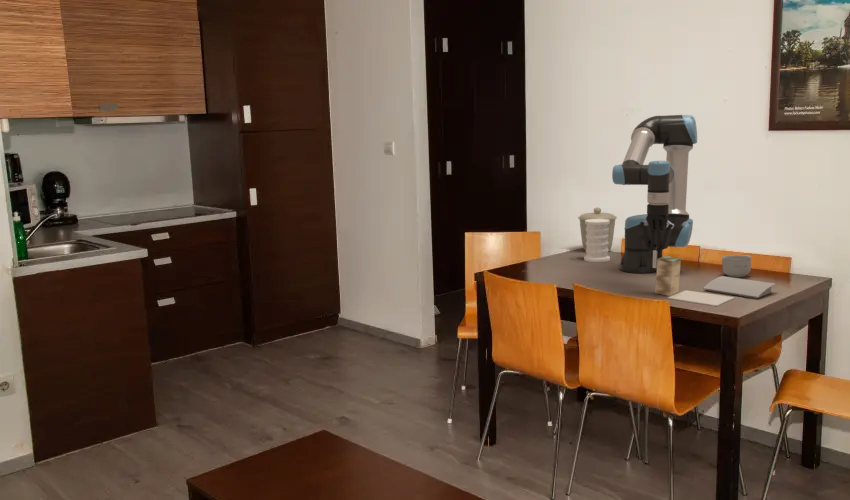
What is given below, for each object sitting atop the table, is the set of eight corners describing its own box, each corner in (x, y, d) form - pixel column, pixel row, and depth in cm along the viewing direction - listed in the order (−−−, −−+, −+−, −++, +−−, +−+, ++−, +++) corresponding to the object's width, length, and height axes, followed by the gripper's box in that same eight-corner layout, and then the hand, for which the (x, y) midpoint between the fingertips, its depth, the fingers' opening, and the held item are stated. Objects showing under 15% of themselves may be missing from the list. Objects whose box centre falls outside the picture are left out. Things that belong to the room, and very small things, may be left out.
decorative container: (579, 258, 344) (579, 219, 341) (601, 256, 348) (601, 218, 345) (592, 263, 334) (592, 223, 330) (615, 260, 337) (615, 221, 334)
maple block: (655, 293, 274) (657, 258, 272) (663, 289, 279) (665, 255, 276) (670, 296, 270) (673, 261, 267) (678, 293, 274) (680, 258, 272)
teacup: (735, 280, 292) (736, 259, 290) (715, 275, 302) (715, 255, 300) (762, 276, 297) (763, 256, 295) (741, 271, 307) (742, 252, 305)
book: (720, 284, 287) (720, 274, 286) (780, 294, 270) (781, 283, 269) (699, 291, 277) (700, 281, 276) (761, 302, 260) (762, 291, 259)
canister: (617, 254, 352) (617, 209, 348) (578, 254, 355) (578, 210, 352) (615, 247, 369) (616, 205, 365) (578, 247, 373) (578, 205, 369)
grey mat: (667, 298, 267) (667, 297, 267) (685, 291, 276) (686, 290, 276) (716, 306, 254) (716, 305, 254) (734, 298, 264) (734, 297, 264)
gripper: (636, 203, 273) (635, 266, 278) (669, 205, 264) (667, 271, 268) (647, 201, 279) (645, 263, 283) (679, 203, 269) (677, 268, 273)
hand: (656, 267), depth 275 cm, fingers closed
